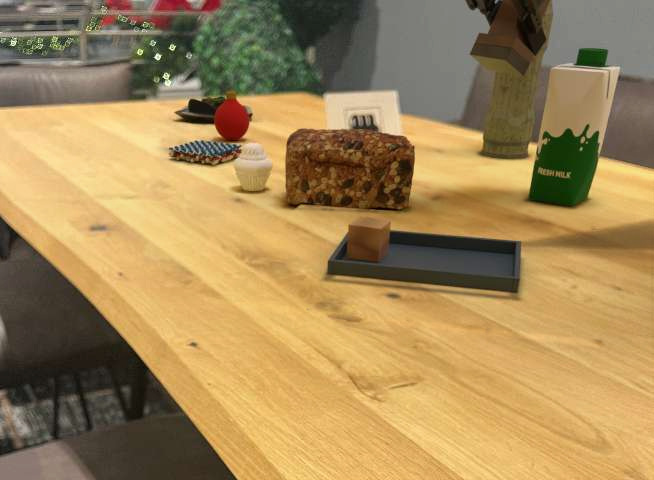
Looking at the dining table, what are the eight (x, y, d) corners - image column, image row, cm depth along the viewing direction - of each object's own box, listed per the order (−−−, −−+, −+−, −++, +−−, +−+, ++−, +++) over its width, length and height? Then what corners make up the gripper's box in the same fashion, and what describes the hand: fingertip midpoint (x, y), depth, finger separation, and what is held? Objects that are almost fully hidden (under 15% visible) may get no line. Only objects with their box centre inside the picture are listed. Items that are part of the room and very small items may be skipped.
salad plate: (179, 110, 186) (178, 88, 183) (252, 110, 187) (252, 89, 184) (172, 123, 170) (171, 100, 168) (252, 124, 171) (252, 101, 168)
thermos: (517, 147, 151) (556, -73, 131) (536, 160, 142) (580, -75, 122) (473, 147, 151) (505, -73, 131) (489, 160, 142) (525, -76, 121)
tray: (518, 258, 95) (521, 241, 93) (516, 297, 83) (519, 278, 82) (350, 243, 99) (351, 226, 98) (327, 278, 88) (327, 260, 87)
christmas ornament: (218, 144, 152) (216, 87, 146) (212, 137, 158) (210, 82, 152) (252, 142, 153) (252, 86, 148) (245, 136, 159) (245, 82, 153)
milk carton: (595, 197, 120) (630, 50, 108) (575, 209, 114) (610, 54, 102) (540, 189, 124) (569, 46, 112) (519, 200, 118) (547, 50, 106)
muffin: (227, 190, 121) (225, 142, 117) (245, 182, 125) (244, 136, 121) (262, 195, 119) (262, 146, 115) (278, 187, 123) (279, 140, 119)
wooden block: (388, 253, 94) (391, 220, 91) (377, 263, 91) (380, 228, 88) (357, 249, 95) (359, 216, 93) (346, 258, 92) (348, 224, 90)
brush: (524, 76, 109) (571, -23, 104) (505, 60, 105) (553, -43, 101) (488, 70, 113) (531, -25, 109) (469, 54, 110) (513, -45, 106)
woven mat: (215, 166, 135) (214, 154, 134) (167, 159, 139) (166, 147, 138) (246, 156, 143) (246, 144, 141) (199, 150, 147) (199, 138, 146)
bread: (283, 208, 113) (284, 134, 107) (290, 190, 121) (291, 121, 116) (410, 212, 111) (417, 138, 105) (408, 194, 120) (415, 124, 114)
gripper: (395, -77, 99) (463, 62, 116) (500, -81, 87) (558, 74, 105) (429, -127, 98) (493, 20, 116) (539, -137, 87) (591, 28, 104)
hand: (524, 45), depth 110 cm, fingers closed on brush, 4 cm apart
